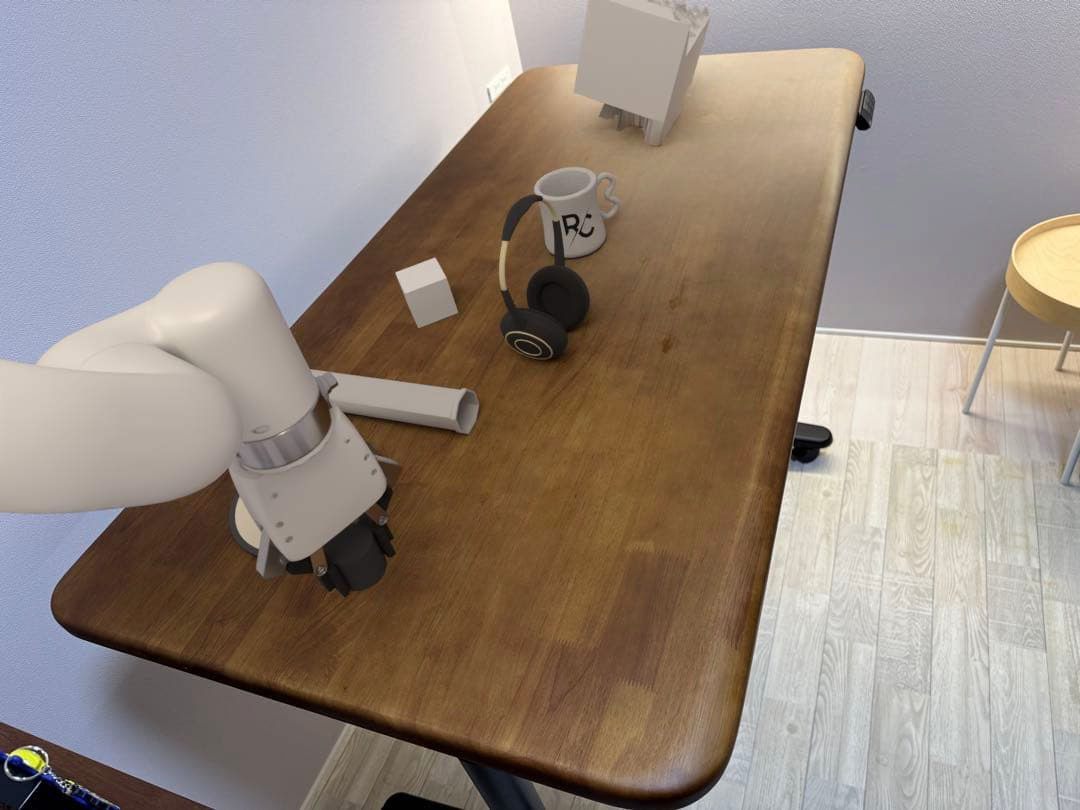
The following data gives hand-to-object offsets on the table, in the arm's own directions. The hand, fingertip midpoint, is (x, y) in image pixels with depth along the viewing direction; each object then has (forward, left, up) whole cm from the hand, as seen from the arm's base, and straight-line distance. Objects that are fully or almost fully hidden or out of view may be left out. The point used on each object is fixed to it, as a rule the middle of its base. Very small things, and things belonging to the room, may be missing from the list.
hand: (361, 566), depth 69 cm
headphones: (+38, +15, -9) cm, 42 cm away
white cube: (+34, +35, -9) cm, 50 cm away
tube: (+17, +24, -9) cm, 31 cm away
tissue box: (+90, +40, -9) cm, 99 cm away
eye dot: (0, 0, -1) cm, 1 cm away
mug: (+58, +27, -9) cm, 65 cm away
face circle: (+3, +21, -9) cm, 23 cm away
